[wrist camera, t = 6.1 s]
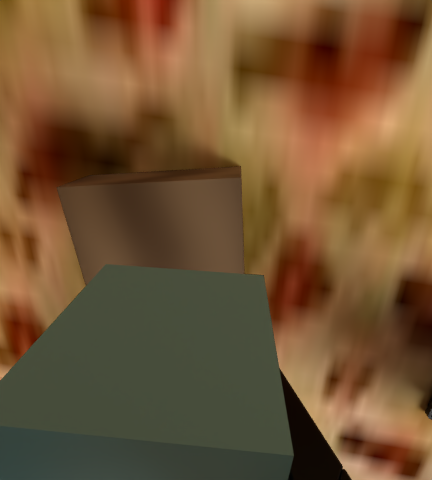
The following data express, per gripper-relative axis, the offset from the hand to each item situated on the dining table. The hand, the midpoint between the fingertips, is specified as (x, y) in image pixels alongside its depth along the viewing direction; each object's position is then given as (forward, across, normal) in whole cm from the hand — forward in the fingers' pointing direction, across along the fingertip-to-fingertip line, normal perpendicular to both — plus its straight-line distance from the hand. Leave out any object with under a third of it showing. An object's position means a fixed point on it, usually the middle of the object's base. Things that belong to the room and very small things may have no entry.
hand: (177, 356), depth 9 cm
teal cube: (+1, 0, 0) cm, 1 cm away
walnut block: (+12, +3, +1) cm, 12 cm away
